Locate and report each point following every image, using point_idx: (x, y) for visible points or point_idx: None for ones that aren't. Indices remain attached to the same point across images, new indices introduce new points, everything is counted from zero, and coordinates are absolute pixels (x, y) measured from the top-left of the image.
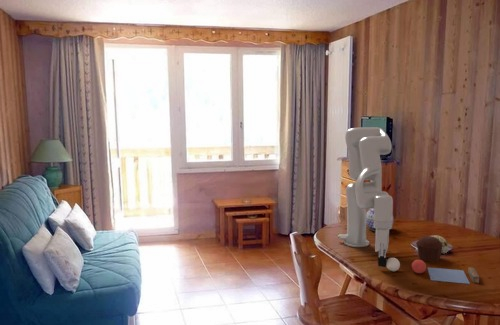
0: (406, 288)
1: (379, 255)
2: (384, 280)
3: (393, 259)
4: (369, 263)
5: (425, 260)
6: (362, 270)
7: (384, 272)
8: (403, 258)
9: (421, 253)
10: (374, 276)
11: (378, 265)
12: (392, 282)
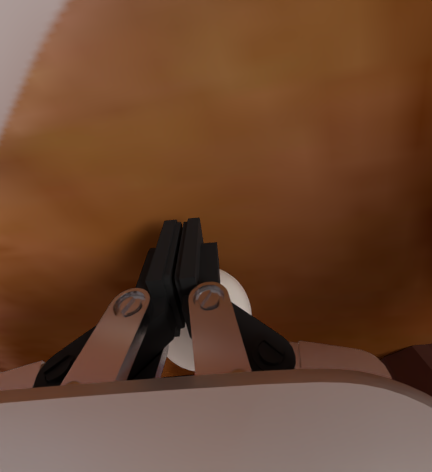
0: (11, 337)
1: (104, 327)
2: (13, 260)
3: (179, 363)
4: (318, 99)
5: (382, 360)
6: (73, 53)
7: (149, 244)
8: (426, 300)
9: (422, 382)
10: (21, 196)
11: (166, 224)
12: (24, 293)
